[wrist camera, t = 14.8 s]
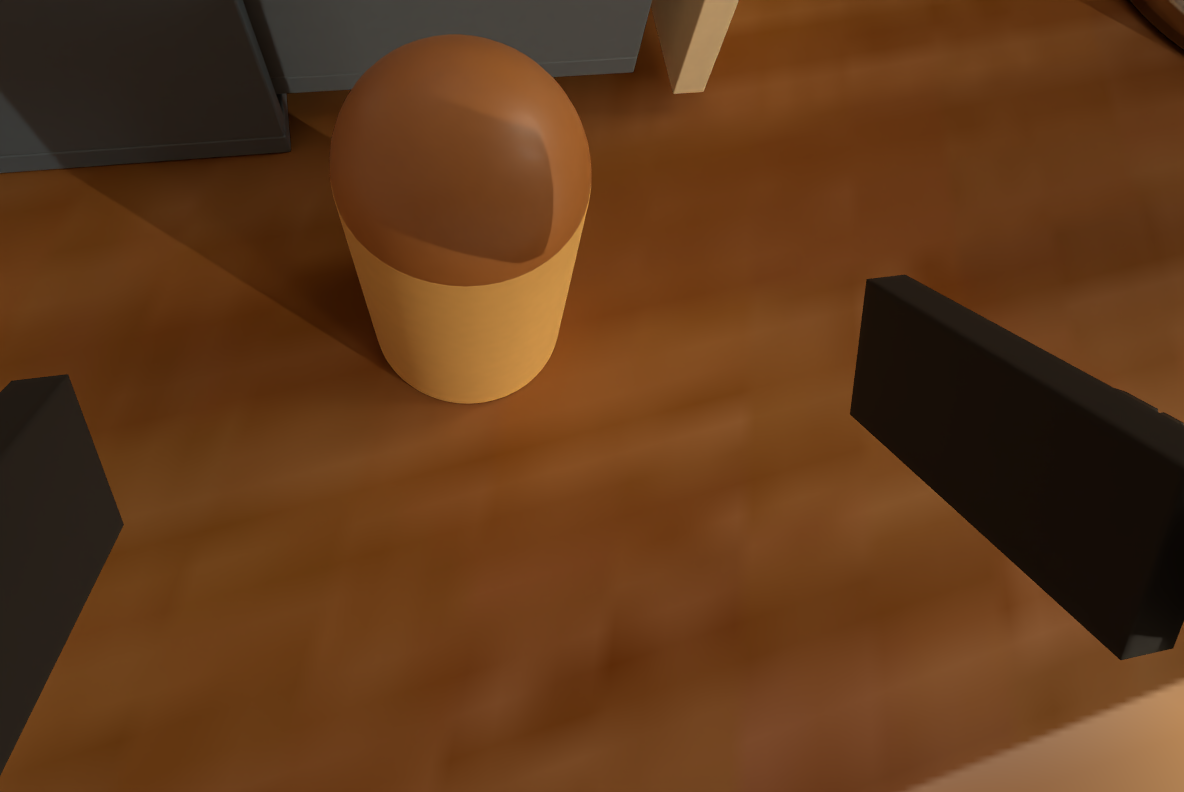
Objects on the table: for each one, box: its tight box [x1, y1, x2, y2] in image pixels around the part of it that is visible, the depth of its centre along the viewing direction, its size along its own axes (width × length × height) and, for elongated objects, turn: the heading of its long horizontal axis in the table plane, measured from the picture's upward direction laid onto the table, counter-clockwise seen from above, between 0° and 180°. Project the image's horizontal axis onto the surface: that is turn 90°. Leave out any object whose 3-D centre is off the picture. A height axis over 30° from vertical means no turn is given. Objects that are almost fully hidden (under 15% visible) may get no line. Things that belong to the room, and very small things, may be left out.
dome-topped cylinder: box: [329, 34, 591, 404], centre depth 21 cm, size 6×6×11 cm
